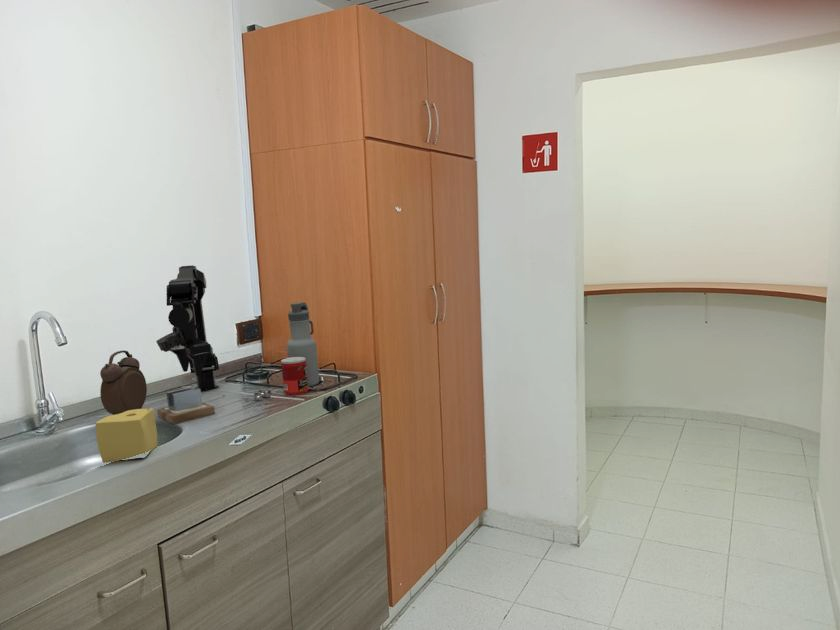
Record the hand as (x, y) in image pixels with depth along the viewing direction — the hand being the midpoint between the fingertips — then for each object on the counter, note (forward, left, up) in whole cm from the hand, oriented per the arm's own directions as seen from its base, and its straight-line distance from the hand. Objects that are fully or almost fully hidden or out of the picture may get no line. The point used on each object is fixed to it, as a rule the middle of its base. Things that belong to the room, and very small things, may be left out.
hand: (191, 373), depth 185 cm
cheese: (+25, -27, -12) cm, 39 cm away
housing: (+3, -4, -9) cm, 10 cm away
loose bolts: (+4, +20, -11) cm, 23 cm away
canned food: (+9, +30, -12) cm, 33 cm away
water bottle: (+2, +38, -12) cm, 40 cm away
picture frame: (+3, -4, -11) cm, 12 cm away
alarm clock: (-12, -16, -12) cm, 23 cm away
